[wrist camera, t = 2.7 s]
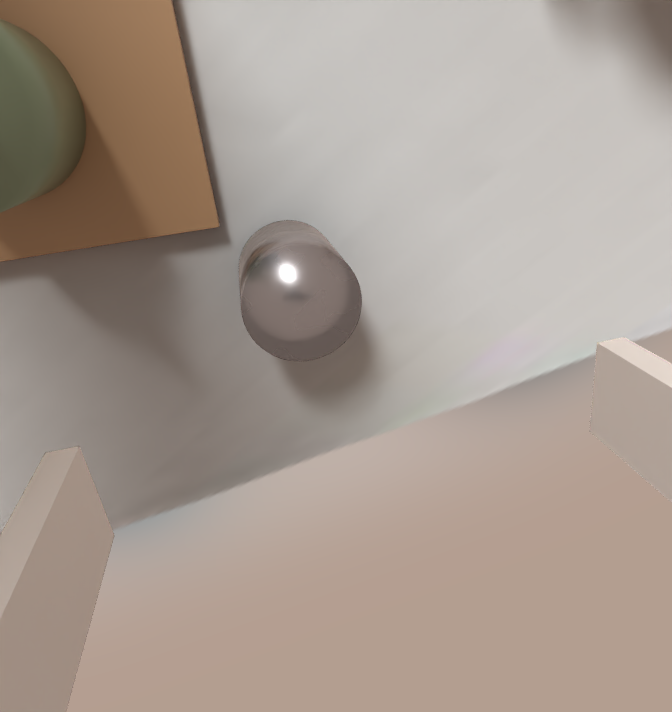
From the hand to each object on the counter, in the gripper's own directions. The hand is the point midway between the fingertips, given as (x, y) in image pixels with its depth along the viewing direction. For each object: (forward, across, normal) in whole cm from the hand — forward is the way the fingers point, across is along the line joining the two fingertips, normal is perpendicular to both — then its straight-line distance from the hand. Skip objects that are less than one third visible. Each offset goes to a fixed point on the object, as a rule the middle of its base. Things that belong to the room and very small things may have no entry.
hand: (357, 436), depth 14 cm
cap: (+17, 0, 0) cm, 17 cm away
